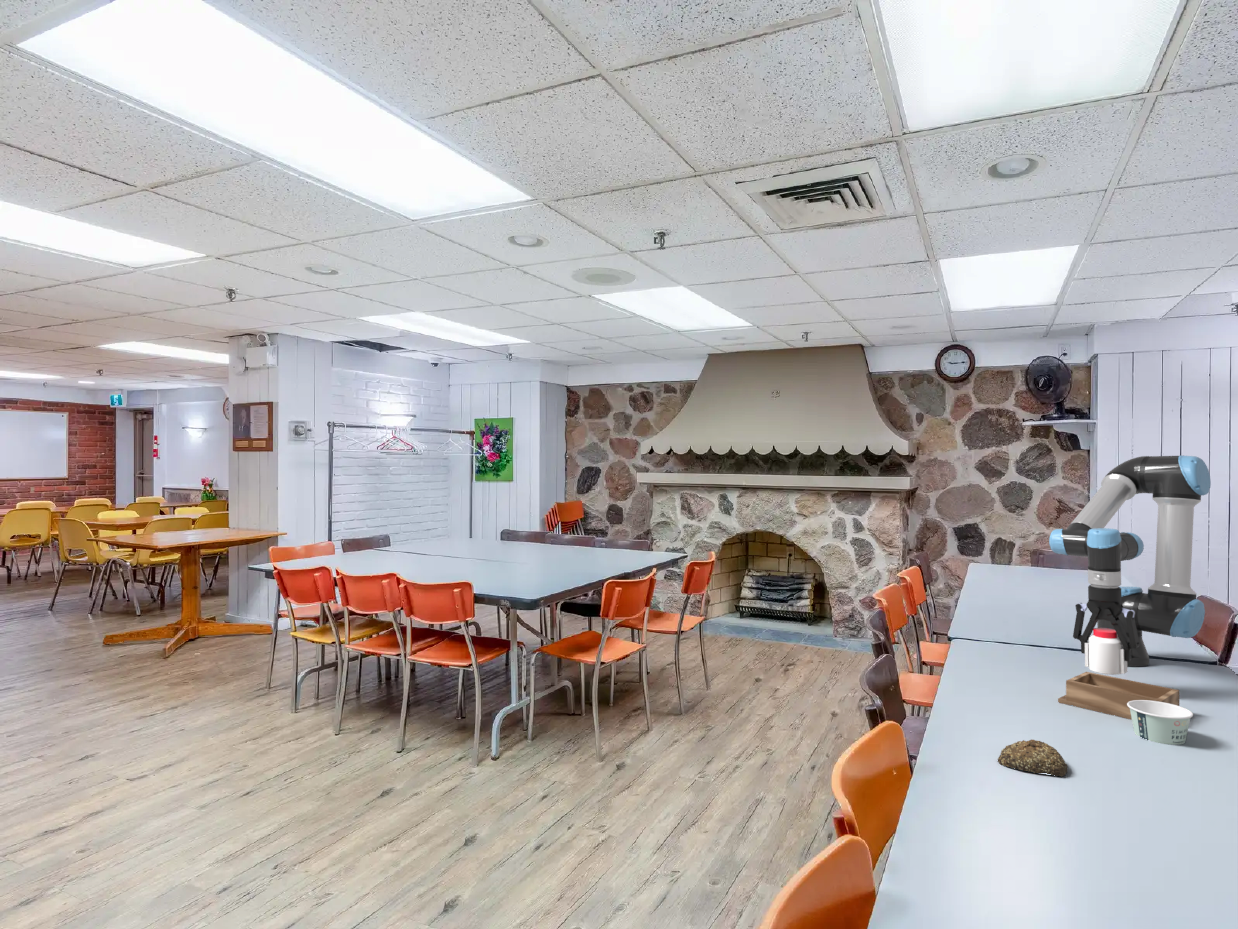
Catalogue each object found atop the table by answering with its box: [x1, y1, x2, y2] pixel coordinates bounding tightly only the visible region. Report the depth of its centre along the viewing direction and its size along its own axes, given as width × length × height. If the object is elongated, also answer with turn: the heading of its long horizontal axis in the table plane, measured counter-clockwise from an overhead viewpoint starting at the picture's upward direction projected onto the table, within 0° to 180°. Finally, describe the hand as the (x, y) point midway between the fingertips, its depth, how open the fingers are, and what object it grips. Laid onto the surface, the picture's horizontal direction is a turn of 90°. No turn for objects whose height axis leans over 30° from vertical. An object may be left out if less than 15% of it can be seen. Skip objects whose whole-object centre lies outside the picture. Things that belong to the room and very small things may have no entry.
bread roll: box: [997, 739, 1069, 777], centre depth 149 cm, size 13×12×5 cm
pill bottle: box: [1088, 627, 1123, 676], centre depth 197 cm, size 8×8×11 cm
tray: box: [1057, 671, 1180, 721], centre depth 182 cm, size 14×24×6 cm, turn 38°
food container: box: [1127, 700, 1194, 746], centre depth 163 cm, size 12×12×7 cm
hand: (1105, 669), depth 197 cm, fingers closed on pill bottle, 8 cm apart
